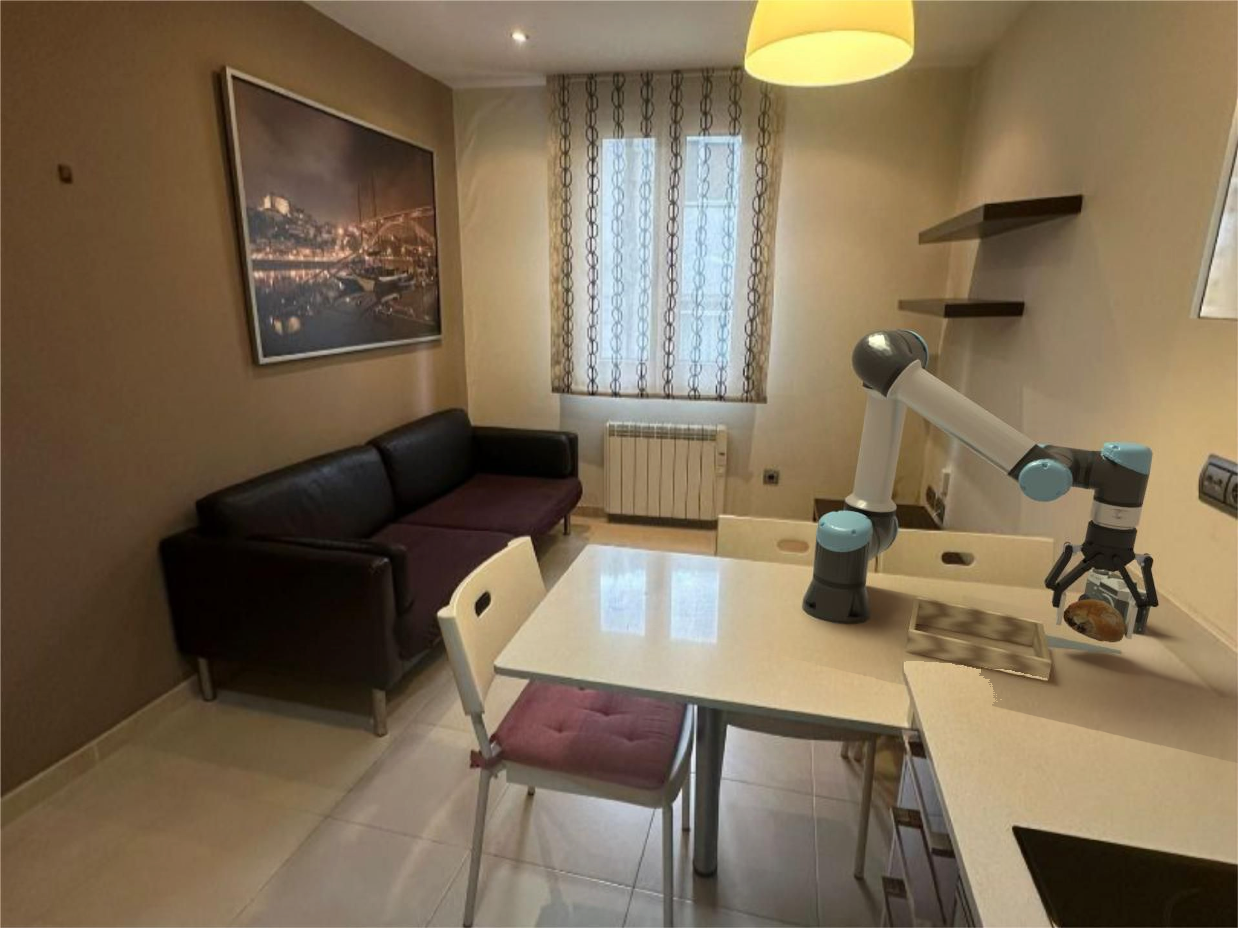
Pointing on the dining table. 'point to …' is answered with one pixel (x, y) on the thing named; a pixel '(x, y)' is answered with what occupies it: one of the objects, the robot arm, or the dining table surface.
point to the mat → (1077, 645)
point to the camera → (1113, 594)
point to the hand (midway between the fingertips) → (1091, 629)
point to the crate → (978, 625)
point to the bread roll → (1095, 620)
